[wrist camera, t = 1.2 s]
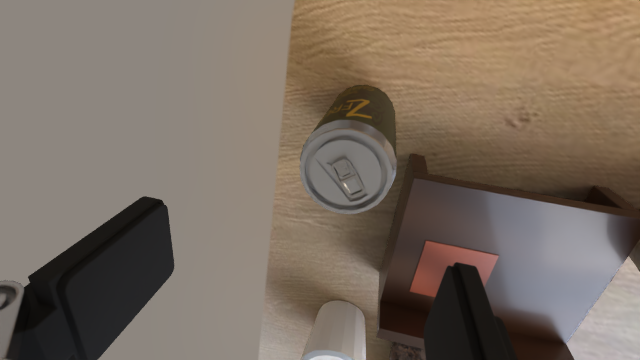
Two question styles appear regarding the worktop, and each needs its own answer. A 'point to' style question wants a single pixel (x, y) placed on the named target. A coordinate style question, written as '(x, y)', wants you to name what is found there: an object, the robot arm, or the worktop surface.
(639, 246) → the sandal
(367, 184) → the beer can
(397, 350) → the perforated stone tool
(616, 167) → the worktop surface
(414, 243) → the shelf
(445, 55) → the worktop surface
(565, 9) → the worktop surface
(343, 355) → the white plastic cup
